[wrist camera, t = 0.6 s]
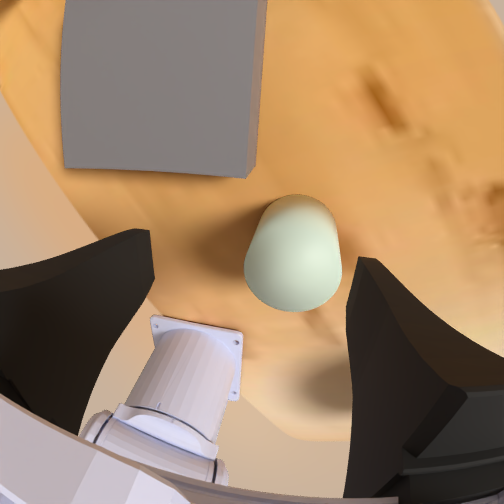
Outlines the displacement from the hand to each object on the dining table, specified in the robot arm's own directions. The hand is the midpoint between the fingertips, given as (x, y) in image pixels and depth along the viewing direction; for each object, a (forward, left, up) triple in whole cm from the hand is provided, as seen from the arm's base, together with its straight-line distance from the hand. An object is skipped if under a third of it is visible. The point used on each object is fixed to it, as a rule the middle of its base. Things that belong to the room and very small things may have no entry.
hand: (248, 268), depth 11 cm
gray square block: (+7, +7, -10) cm, 14 cm away
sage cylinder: (-3, -2, -10) cm, 10 cm away
